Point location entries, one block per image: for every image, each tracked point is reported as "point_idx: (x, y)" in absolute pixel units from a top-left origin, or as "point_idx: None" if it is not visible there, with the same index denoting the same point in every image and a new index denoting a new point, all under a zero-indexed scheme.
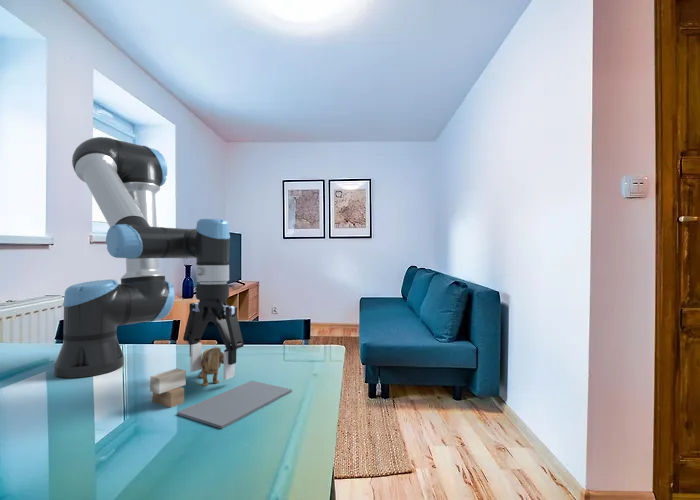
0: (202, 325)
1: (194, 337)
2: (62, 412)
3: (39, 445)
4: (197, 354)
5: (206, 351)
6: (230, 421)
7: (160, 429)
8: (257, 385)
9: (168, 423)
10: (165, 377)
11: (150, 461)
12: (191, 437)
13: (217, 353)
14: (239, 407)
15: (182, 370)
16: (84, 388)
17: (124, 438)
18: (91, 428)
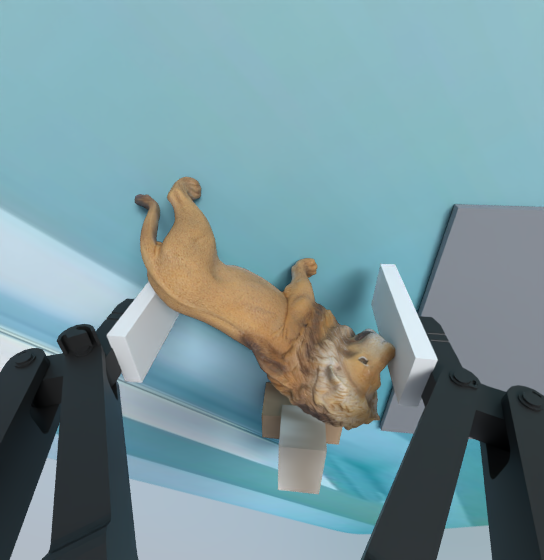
0: (125, 513)
1: (121, 420)
2: (175, 459)
3: (274, 501)
4: (158, 318)
5: (189, 312)
6: None
7: (397, 458)
8: (517, 243)
9: (393, 445)
10: (320, 484)
11: (459, 499)
12: (478, 462)
13: (377, 416)
14: (530, 385)
15: (315, 452)
16: None
17: (364, 479)
18: None
